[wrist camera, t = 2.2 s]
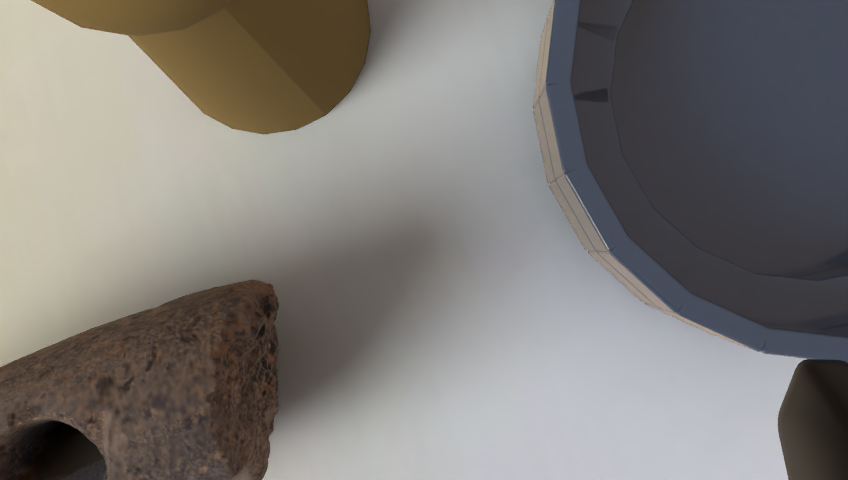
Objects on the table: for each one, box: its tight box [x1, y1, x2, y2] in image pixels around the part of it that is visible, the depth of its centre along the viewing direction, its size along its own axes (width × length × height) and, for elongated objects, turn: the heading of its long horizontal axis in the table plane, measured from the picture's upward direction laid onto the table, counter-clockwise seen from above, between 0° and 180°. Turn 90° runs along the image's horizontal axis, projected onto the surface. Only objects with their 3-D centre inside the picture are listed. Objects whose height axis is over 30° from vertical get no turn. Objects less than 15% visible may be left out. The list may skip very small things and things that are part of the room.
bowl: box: [533, 0, 848, 363], centre depth 19 cm, size 13×13×4 cm
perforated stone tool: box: [0, 280, 279, 480], centre depth 19 cm, size 15×5×7 cm, turn 111°
